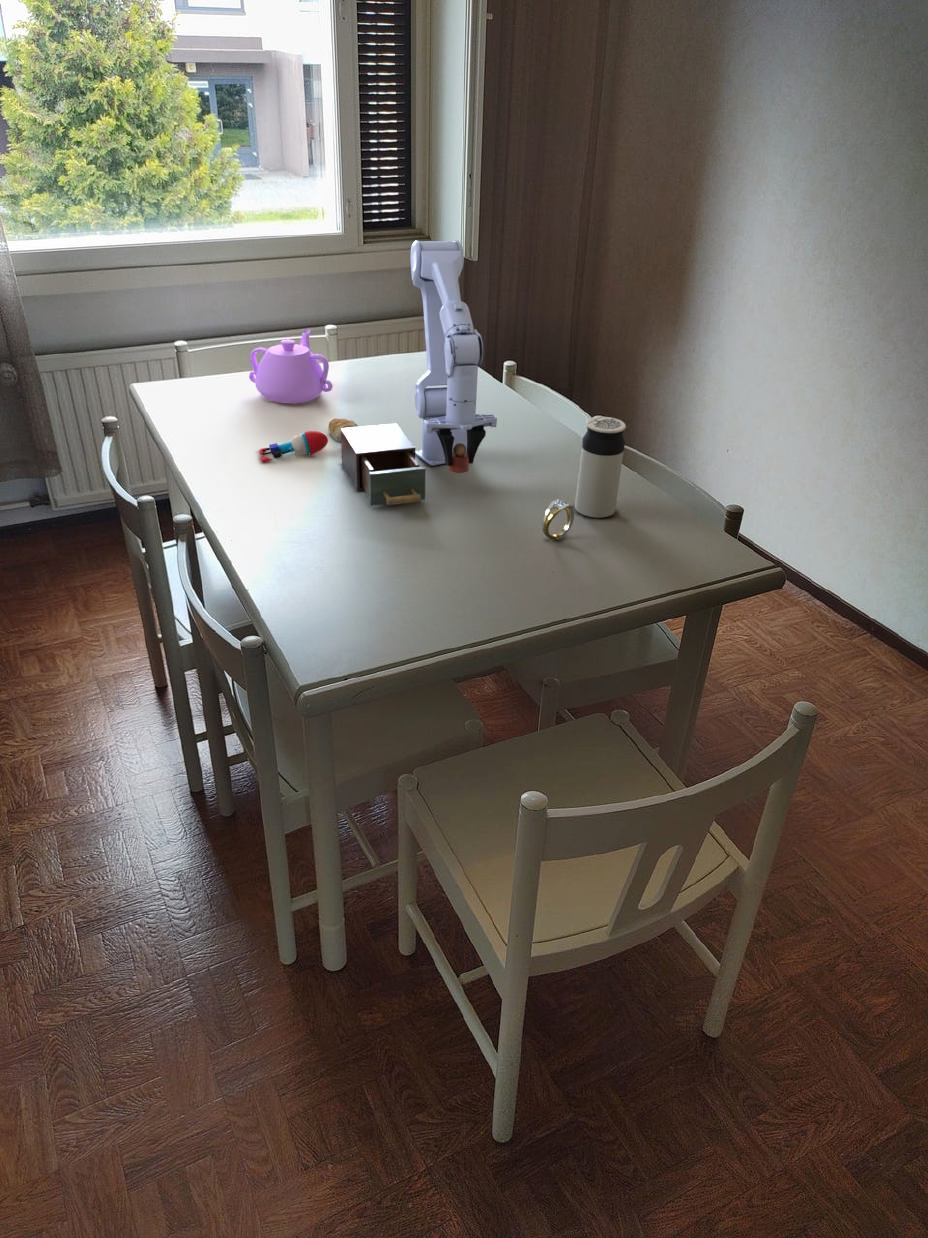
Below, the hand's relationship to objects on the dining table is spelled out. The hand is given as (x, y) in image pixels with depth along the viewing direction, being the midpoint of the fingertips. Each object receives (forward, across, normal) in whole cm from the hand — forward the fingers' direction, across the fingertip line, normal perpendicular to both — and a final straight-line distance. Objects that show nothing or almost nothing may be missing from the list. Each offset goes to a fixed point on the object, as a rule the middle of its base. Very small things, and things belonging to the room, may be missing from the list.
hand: (458, 462), depth 183 cm
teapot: (+6, -21, +64) cm, 68 cm away
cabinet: (+6, -14, +11) cm, 19 cm away
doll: (+1, 0, 0) cm, 1 cm away
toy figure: (+6, -29, +26) cm, 39 cm away
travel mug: (+6, +23, -16) cm, 29 cm away
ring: (+6, +11, -25) cm, 28 cm away
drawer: (+5, -14, -1) cm, 15 cm away
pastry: (+6, -16, +34) cm, 38 cm away
